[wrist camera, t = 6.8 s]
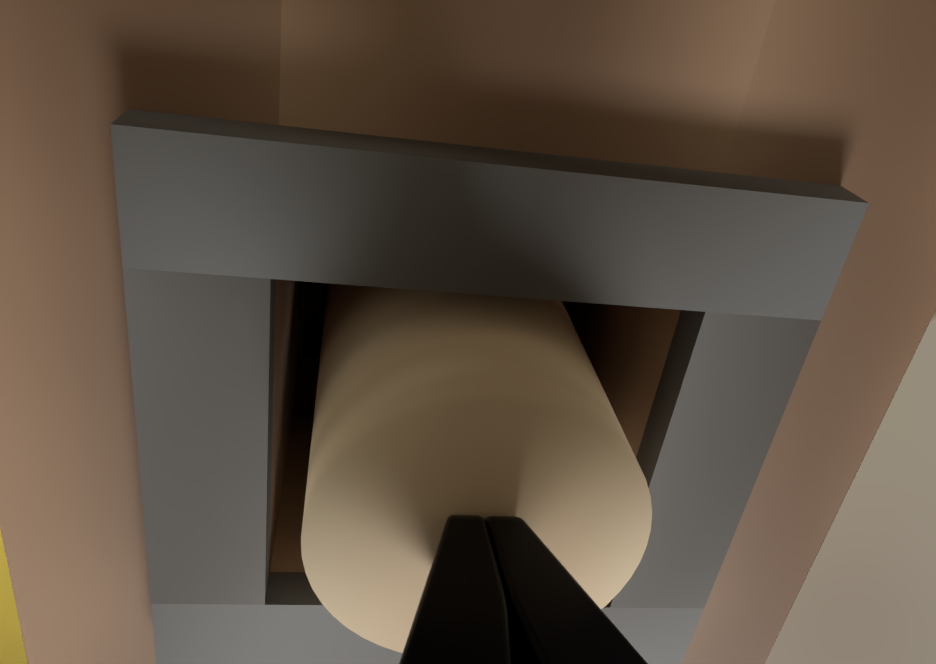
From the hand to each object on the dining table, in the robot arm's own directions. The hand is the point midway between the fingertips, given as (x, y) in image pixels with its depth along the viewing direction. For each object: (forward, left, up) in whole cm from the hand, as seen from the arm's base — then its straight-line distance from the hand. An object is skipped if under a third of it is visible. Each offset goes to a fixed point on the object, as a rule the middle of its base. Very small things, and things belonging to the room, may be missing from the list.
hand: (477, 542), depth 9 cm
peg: (0, 0, -7) cm, 7 cm away
